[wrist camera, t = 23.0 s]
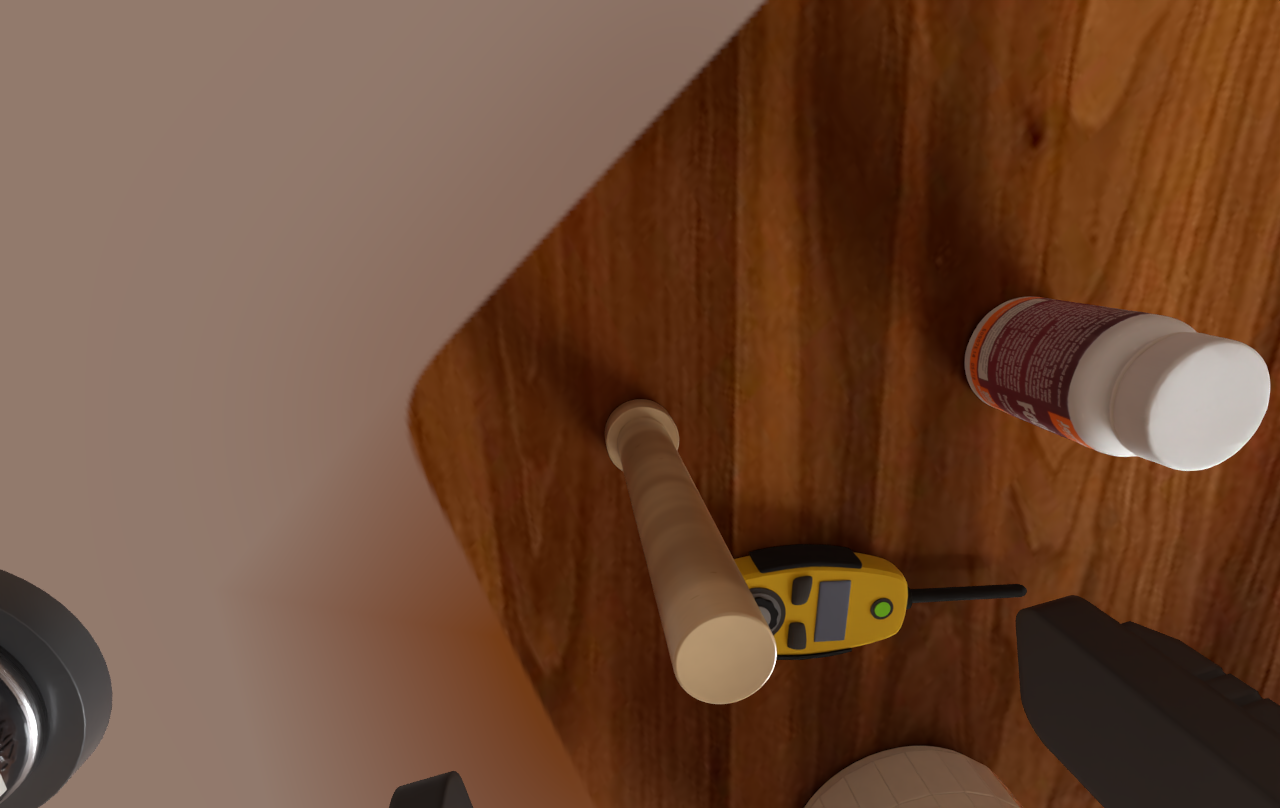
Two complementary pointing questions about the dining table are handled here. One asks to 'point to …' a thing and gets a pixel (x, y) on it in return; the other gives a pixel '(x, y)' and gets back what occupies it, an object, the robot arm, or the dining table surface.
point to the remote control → (838, 597)
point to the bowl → (914, 782)
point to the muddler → (689, 563)
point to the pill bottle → (1119, 380)
